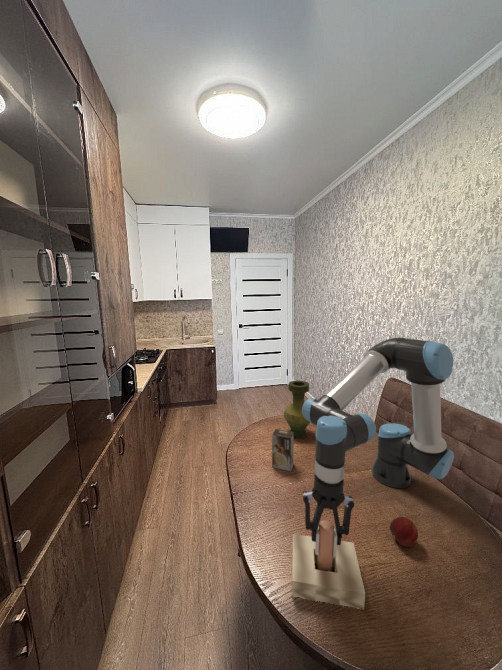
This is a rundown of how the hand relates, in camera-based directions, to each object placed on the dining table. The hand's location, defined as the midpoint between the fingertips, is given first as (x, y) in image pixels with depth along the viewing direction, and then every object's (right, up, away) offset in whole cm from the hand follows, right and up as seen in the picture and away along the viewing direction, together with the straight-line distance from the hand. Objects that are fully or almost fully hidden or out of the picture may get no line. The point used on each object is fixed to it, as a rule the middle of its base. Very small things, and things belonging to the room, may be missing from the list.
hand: (325, 551), depth 74 cm
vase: (+6, +3, +79) cm, 79 cm away
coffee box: (-6, -1, +50) cm, 51 cm away
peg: (0, -5, +1) cm, 5 cm away
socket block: (0, -8, +1) cm, 8 cm away
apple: (+28, -6, +12) cm, 31 cm away
